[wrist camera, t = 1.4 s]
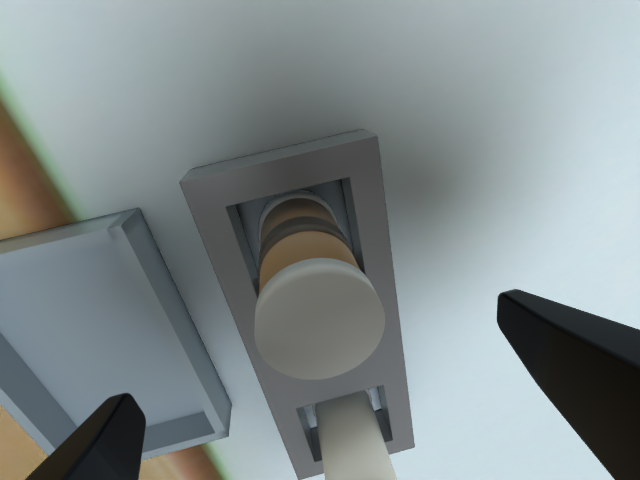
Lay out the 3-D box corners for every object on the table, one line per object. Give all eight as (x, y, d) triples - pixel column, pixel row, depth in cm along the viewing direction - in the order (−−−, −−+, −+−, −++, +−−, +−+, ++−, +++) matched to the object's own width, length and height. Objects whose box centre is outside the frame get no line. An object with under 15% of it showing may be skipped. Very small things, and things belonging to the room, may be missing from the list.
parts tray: (231, 404, 19) (228, 436, 17) (88, 443, 18) (70, 479, 17) (138, 207, 14) (120, 225, 12) (-65, 256, 13) (-114, 281, 11)
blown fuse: (340, 250, 16) (391, 361, 9) (270, 268, 16) (274, 393, 9) (327, 181, 14) (376, 258, 8) (249, 200, 14) (236, 294, 8)
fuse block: (402, 416, 21) (414, 447, 20) (295, 446, 21) (298, 480, 19) (362, 128, 14) (377, 135, 12) (190, 169, 13) (179, 182, 11)
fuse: (371, 405, 21) (418, 546, 14) (317, 420, 20) (341, 569, 14) (363, 366, 19) (412, 504, 13) (305, 381, 19) (325, 529, 13)
